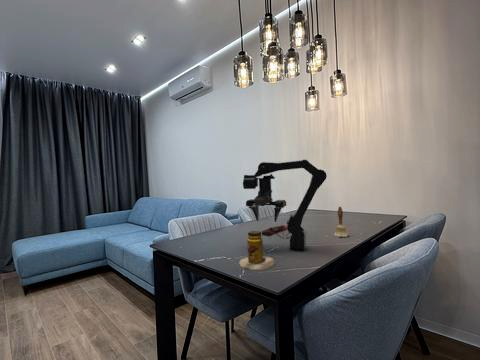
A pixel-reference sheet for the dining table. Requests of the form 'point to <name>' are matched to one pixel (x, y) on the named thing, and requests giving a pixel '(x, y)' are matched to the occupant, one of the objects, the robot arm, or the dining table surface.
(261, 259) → the condiment
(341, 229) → the hand bell
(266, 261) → the beige round plate
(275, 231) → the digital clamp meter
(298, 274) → the dining table surface
